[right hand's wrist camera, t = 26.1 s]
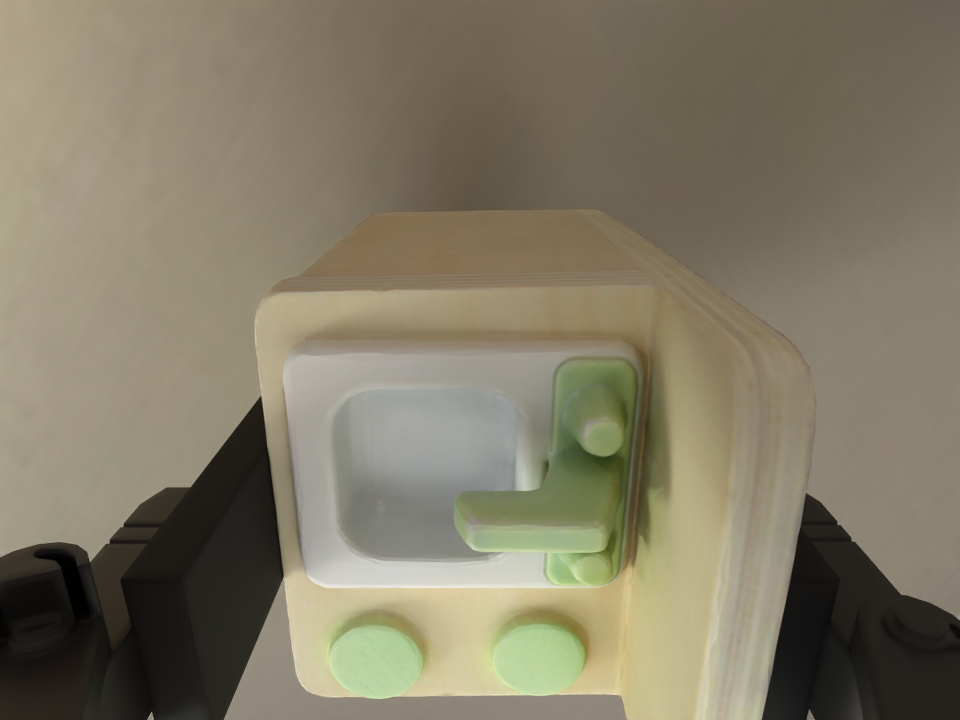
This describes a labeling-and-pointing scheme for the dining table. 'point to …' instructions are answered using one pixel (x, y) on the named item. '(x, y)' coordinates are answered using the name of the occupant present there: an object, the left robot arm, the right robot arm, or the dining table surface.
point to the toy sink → (531, 466)
